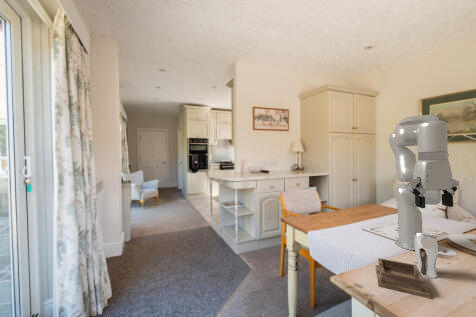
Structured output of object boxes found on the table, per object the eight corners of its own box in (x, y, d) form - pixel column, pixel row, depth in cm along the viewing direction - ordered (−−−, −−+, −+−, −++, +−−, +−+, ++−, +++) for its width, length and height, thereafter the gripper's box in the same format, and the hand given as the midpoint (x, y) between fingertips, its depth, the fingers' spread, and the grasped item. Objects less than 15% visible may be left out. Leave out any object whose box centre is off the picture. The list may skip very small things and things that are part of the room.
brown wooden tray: (375, 267, 85) (375, 256, 85) (419, 276, 78) (418, 264, 78) (378, 286, 73) (378, 273, 73) (430, 298, 66) (430, 284, 66)
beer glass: (444, 279, 76) (442, 239, 76) (422, 277, 77) (421, 238, 77) (430, 269, 83) (429, 232, 83) (410, 268, 84) (409, 232, 84)
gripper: (445, 156, 74) (446, 203, 74) (398, 158, 73) (400, 205, 73) (469, 156, 66) (470, 208, 66) (418, 158, 66) (419, 210, 66)
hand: (433, 206), depth 70 cm, fingers open, 9 cm apart
